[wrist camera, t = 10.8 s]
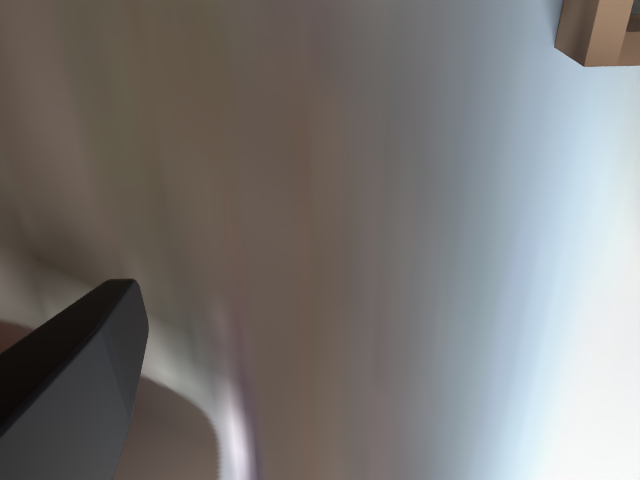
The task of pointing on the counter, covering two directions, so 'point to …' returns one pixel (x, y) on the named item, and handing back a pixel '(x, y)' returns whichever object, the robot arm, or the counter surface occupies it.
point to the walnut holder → (599, 33)
